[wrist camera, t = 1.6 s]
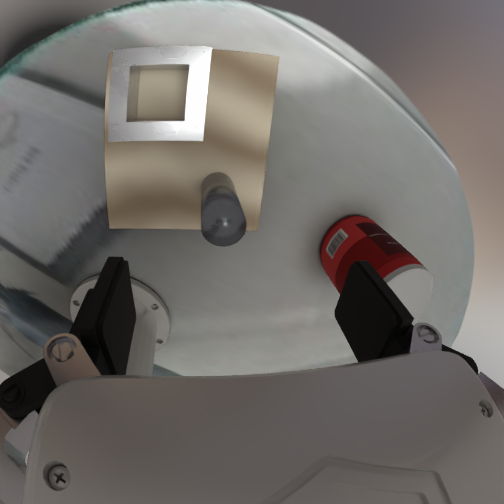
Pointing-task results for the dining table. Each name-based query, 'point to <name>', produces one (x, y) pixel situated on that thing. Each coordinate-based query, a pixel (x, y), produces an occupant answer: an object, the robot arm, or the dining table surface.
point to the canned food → (376, 261)
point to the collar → (127, 89)
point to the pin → (221, 211)
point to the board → (193, 144)
